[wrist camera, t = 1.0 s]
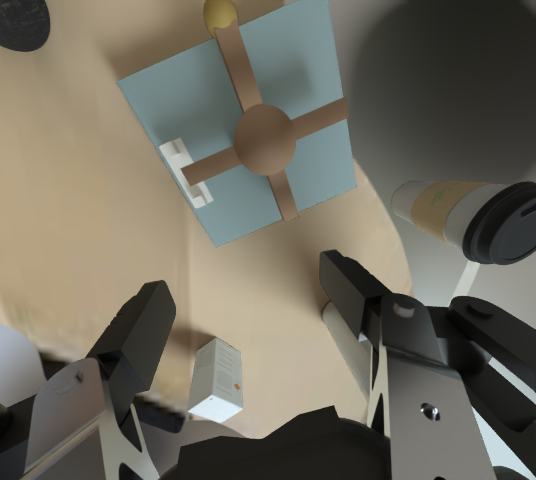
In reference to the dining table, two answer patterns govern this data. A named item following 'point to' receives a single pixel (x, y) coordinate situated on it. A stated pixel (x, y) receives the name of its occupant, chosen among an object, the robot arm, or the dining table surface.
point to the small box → (216, 382)
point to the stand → (229, 113)
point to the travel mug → (23, 24)
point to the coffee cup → (473, 217)
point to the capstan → (257, 118)
